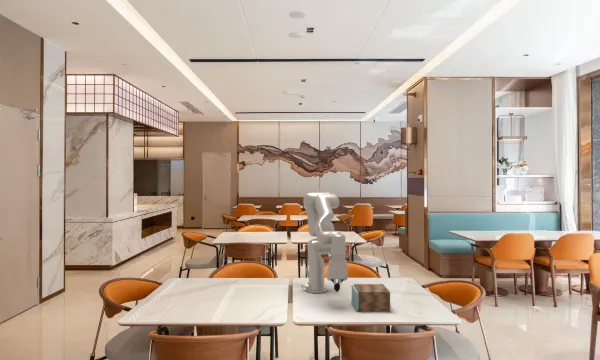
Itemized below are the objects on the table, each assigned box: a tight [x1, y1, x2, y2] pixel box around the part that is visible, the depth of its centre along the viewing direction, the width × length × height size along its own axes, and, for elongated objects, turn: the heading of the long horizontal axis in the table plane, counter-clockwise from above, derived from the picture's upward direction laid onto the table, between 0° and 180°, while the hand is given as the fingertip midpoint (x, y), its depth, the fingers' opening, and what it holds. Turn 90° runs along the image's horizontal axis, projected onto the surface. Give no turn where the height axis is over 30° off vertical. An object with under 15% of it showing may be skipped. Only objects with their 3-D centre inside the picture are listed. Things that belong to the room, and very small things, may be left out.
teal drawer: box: [351, 284, 359, 312], centre depth 216 cm, size 16×16×9 cm
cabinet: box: [353, 283, 391, 313], centre depth 216 cm, size 16×16×10 cm
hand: (336, 290), depth 216 cm, fingers closed
